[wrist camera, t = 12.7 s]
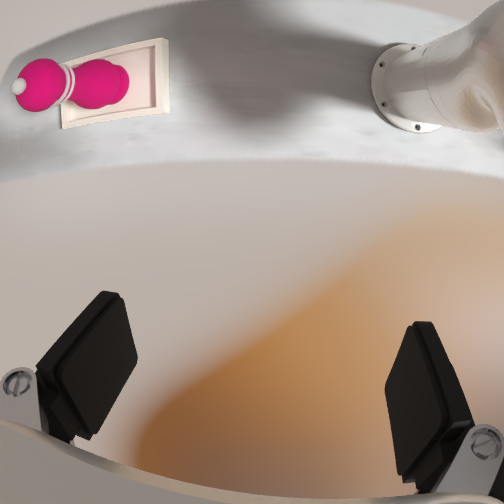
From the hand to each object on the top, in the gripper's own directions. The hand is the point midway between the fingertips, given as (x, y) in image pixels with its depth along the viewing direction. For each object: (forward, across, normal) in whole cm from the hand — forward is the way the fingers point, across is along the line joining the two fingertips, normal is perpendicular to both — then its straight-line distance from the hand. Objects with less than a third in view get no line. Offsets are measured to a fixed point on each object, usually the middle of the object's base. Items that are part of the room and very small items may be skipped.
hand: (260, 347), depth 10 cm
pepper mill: (+35, +26, -12) cm, 45 cm away
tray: (+36, +26, -12) cm, 46 cm away
